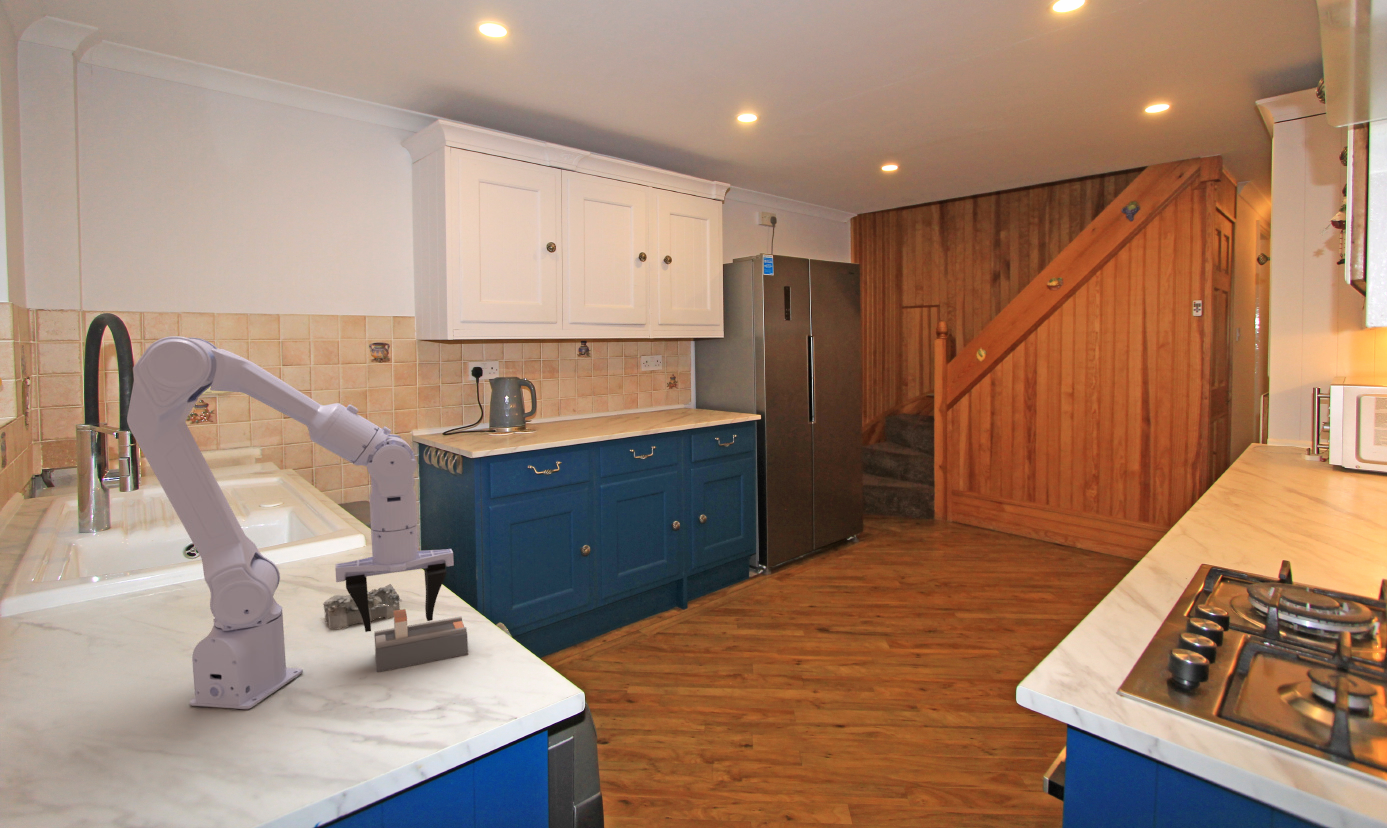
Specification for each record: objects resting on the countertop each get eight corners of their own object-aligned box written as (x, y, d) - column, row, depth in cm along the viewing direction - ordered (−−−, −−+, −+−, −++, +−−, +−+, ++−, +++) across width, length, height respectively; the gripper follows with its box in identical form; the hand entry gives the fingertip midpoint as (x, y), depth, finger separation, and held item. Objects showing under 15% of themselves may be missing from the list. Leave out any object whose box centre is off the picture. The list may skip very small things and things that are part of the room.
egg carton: (328, 634, 102) (326, 607, 102) (322, 618, 108) (321, 593, 108) (403, 617, 108) (402, 593, 107) (394, 603, 114) (393, 579, 114)
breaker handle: (395, 639, 91) (394, 618, 91) (394, 631, 94) (393, 610, 94) (407, 637, 92) (406, 616, 92) (406, 629, 95) (405, 608, 94)
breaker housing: (376, 672, 89) (375, 646, 89) (375, 653, 94) (374, 629, 94) (468, 654, 94) (467, 629, 94) (461, 637, 100) (460, 614, 99)
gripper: (332, 540, 85) (339, 645, 86) (454, 526, 91) (459, 623, 92) (333, 527, 91) (339, 625, 92) (448, 514, 97) (451, 606, 99)
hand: (399, 623), depth 93 cm, fingers open, 7 cm apart
